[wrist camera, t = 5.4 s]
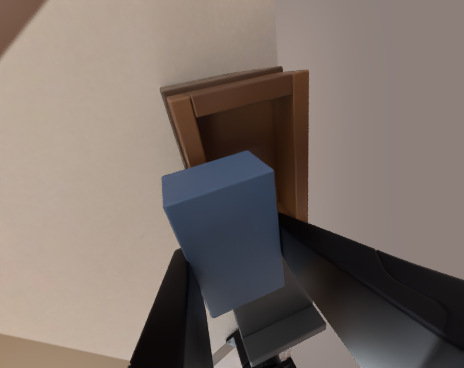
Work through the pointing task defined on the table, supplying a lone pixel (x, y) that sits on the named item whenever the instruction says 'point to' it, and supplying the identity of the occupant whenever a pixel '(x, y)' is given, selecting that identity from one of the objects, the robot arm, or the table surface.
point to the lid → (278, 320)
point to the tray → (252, 129)
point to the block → (227, 228)
